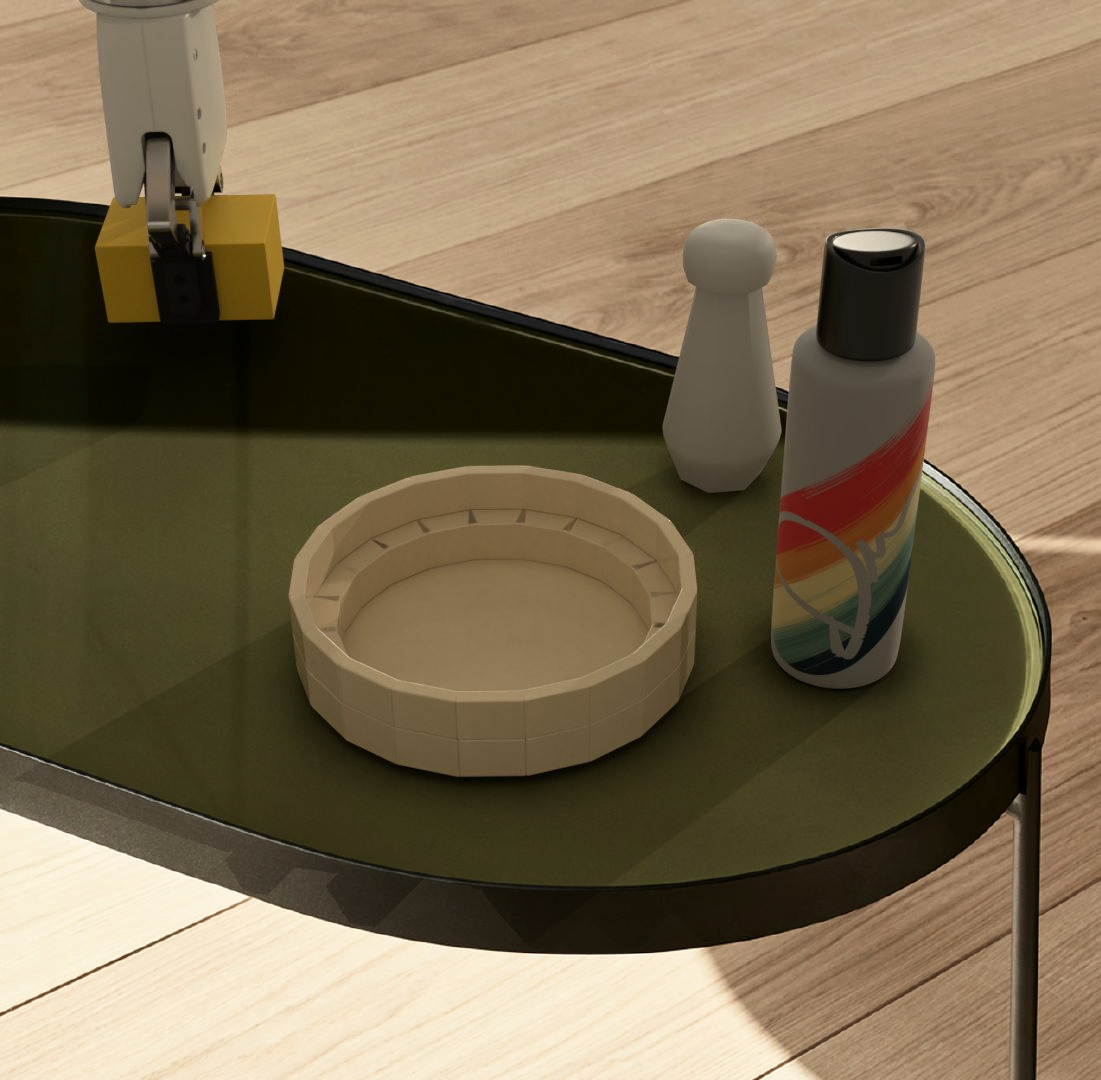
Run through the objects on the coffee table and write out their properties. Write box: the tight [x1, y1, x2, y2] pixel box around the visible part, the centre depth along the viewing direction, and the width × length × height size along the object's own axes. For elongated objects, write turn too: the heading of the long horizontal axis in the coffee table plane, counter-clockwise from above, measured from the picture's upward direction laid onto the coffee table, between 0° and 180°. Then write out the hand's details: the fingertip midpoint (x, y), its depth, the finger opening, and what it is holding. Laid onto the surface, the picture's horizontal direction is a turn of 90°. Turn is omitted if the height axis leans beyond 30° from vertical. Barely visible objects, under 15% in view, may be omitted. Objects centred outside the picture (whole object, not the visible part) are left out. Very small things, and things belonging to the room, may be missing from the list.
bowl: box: [287, 464, 699, 778], centre depth 87 cm, size 17×17×4 cm
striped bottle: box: [770, 227, 936, 690], centre depth 82 cm, size 6×6×20 cm
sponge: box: [94, 193, 285, 324], centre depth 109 cm, size 9×6×4 cm, turn 90°
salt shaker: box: [662, 218, 783, 494], centre depth 96 cm, size 6×6×13 cm
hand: (198, 289), depth 110 cm, fingers closed on sponge, 6 cm apart
